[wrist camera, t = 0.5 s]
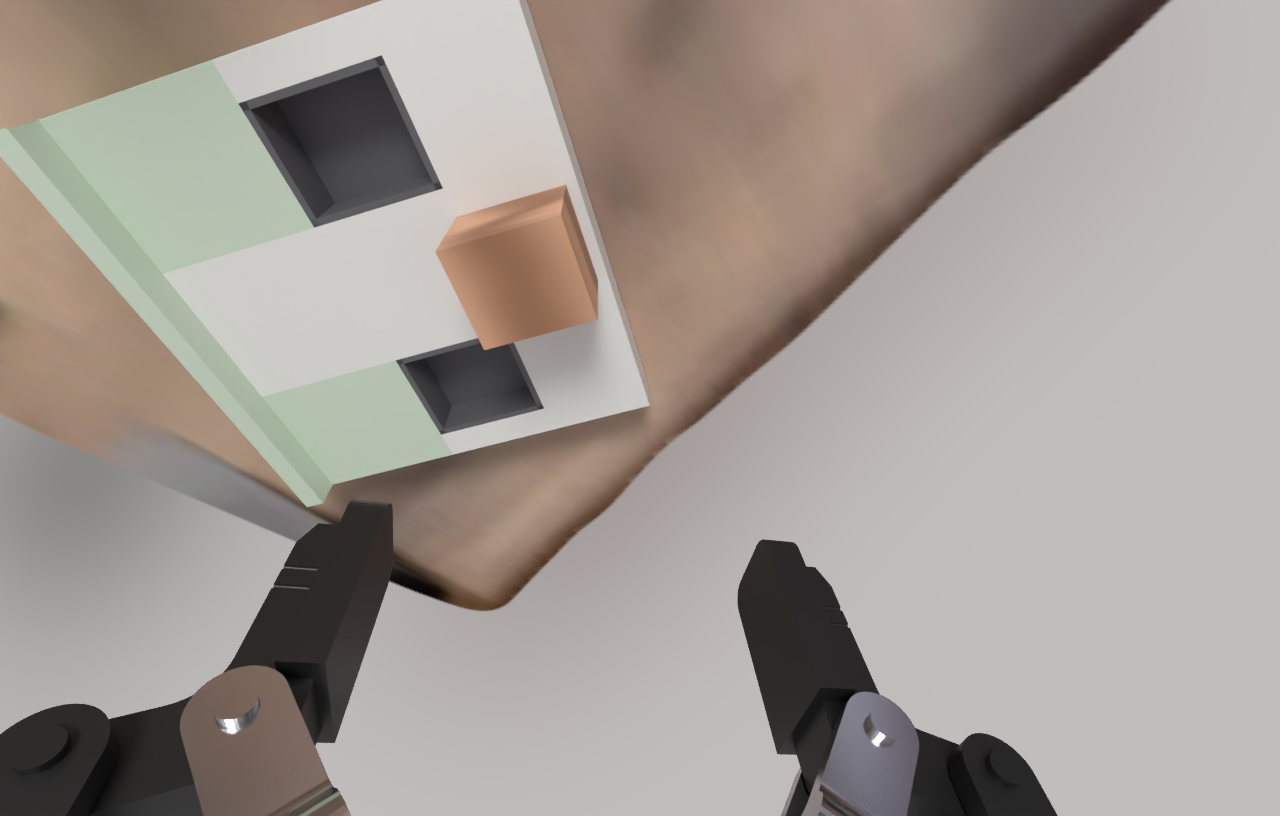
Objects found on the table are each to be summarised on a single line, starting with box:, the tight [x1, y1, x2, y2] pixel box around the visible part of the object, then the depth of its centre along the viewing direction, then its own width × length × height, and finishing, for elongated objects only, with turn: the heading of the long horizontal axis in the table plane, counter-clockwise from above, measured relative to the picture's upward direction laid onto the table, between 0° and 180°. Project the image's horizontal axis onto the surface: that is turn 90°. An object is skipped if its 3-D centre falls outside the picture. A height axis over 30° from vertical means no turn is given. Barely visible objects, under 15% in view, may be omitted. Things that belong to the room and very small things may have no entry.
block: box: [435, 184, 598, 350], centre depth 25 cm, size 5×4×4 cm
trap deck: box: [0, 0, 650, 507], centre depth 28 cm, size 20×20×4 cm
